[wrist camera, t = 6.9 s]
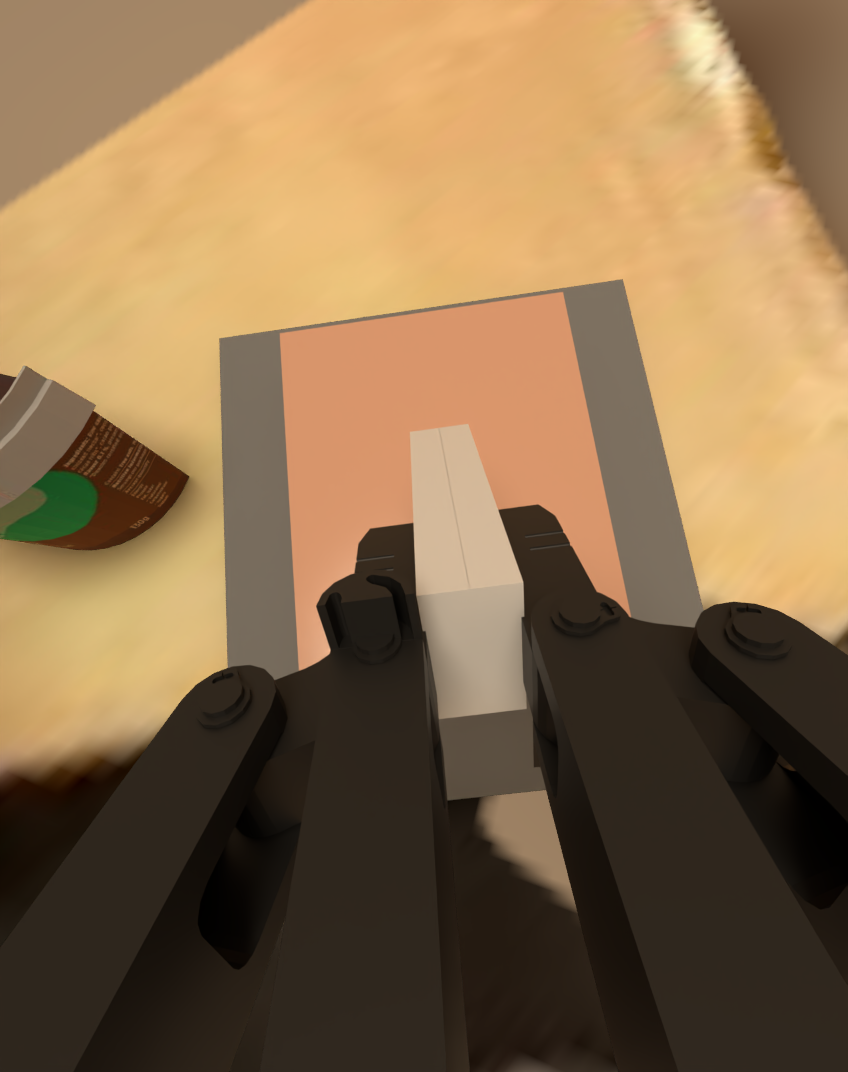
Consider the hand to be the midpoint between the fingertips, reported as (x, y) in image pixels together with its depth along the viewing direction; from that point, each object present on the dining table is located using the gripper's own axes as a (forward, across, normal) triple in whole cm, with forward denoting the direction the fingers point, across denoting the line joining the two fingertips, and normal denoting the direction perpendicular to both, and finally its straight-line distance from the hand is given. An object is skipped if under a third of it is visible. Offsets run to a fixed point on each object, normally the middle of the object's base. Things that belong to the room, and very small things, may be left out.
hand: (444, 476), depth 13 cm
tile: (+1, 0, -8) cm, 8 cm away
